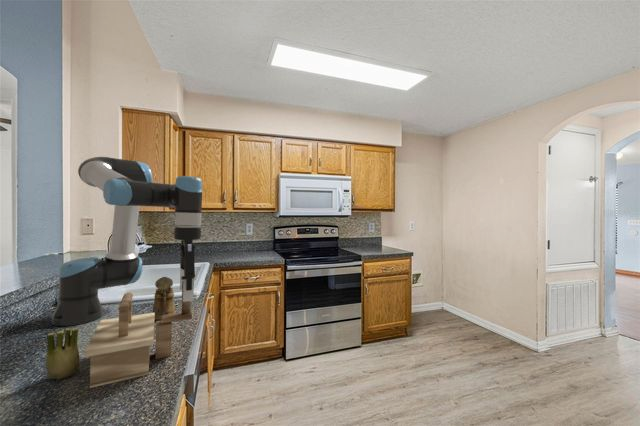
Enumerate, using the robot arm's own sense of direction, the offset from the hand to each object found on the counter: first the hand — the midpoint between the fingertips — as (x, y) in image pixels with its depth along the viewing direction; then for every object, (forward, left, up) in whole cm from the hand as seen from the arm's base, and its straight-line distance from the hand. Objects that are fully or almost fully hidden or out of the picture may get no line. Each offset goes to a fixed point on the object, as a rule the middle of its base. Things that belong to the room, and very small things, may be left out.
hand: (186, 294), depth 86 cm
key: (-45, -4, -18) cm, 49 cm away
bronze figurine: (-32, -5, -17) cm, 37 cm away
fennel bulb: (+1, -28, -17) cm, 33 cm away
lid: (0, -15, -9) cm, 18 cm away
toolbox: (0, -13, -17) cm, 21 cm away
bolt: (0, -2, -7) cm, 8 cm away
